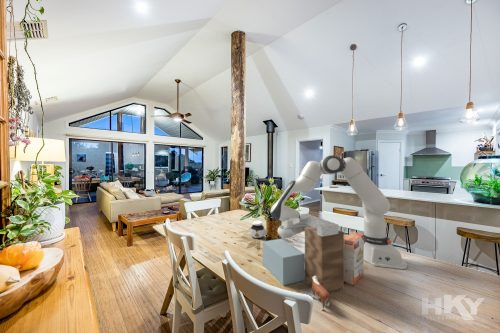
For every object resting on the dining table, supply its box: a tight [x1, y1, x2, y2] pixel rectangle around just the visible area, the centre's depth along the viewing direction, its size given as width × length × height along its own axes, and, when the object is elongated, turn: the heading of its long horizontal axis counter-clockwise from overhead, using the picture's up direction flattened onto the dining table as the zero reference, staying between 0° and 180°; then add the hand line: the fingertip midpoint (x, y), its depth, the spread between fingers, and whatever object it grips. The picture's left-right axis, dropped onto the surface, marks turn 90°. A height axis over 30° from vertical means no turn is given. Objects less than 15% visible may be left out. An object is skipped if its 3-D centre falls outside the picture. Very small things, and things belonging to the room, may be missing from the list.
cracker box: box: [343, 231, 365, 286], centre depth 106 cm, size 14×6×21 cm, turn 136°
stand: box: [304, 227, 345, 294], centre depth 100 cm, size 12×12×26 cm
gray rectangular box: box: [262, 238, 305, 286], centre depth 113 cm, size 22×12×13 cm, turn 22°
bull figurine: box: [310, 276, 331, 311], centre depth 89 cm, size 4×13×8 cm, turn 7°
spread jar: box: [250, 220, 267, 240], centre depth 166 cm, size 12×11×12 cm
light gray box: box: [300, 213, 339, 236], centre depth 103 cm, size 22×9×4 cm, turn 22°
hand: (307, 218), depth 111 cm, fingers open, 8 cm apart
